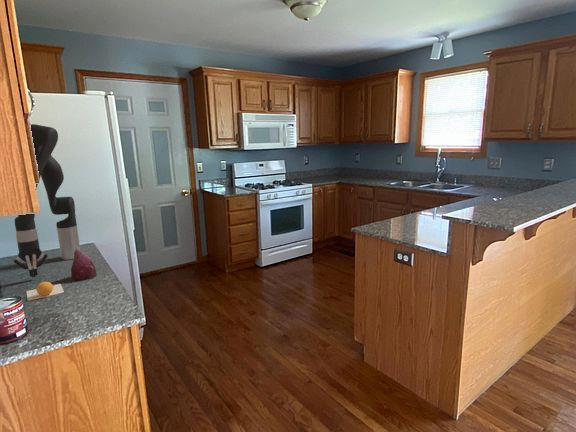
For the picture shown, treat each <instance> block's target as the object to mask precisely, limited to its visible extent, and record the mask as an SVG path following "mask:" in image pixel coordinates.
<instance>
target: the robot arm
mask: <svg viewBox="0 0 576 432" xmlns="http://www.w3.org/2000/svg"><path fill="white" fill-rule="evenodd" d="M30 125H31V131H32V137H33V143H34V148H35V155H36V160H37V164H38V171H39V180H40V179H41V181H42V183H43V186H44V189H45V191H46V196H47V201H48V204H49V208H50V212H51V213H52V214H53V215H55V216H59V215H61V216H62V215H67V217H65V218H64V219H61V220H58V221H57V222H56V225H55V226H56V231H57V237H58V244H59V251H60V252H59V253H60V258H61V260H65V261H67V260H74V252H75V250H76V248H77V249H79V250H80V251H81V245H80V237H79V232H78V225H77V216H76V206H75V205H76V204H75V200H74V198H73V197H72V196H56V195H57V192H58V191H59V189H60V187H61V185H62V184H63V182H64V180H65V177H64V172H63V169H62V165H61V164H60V163H59V162H58V161H57V160H56V159H55V157H53V155H52V153H53V151H54V150H55V148H56V146H57V143H58V141H59V133H58V131H57V130H56V129H55V128H54V127H51V126H45V125H41V124H36V123H35V124H33V123H31V124H30ZM38 185H39V183H38V184H36V189H37V188H38ZM35 214H36V213H35ZM35 214H26V215H18V214H17V216H16V217H15V218H14V228H15V235H16V236H15V237H16V241H17V243H16V244H17V248H18V255H17V257H15V258H13V260H12V262H13V263H14V264H16V265H17V266H18V267H20V268H22V269H23V270H28V274H29V276H30V277H32V278H34V277H37V276H38V268H39V267H41V266H42V265H43V264H44V262H45V261H46V260H47V258H48V256H49V255H48V254H47V253H44V252H42V250H41V247H40V242H39V236H38V235H39V234H38V231H37V229H36V223H35V217H36V215H35ZM39 258H40V260H39V261H38V259H39ZM21 260H22V261H23V262H24V263H23V262H22V261H21ZM37 261H38V263H37ZM31 262H32V264H31ZM25 263H26V264H27V265H26V264H25Z"/></svg>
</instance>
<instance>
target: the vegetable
mask: <svg viewBox="0 0 576 432" xmlns="http://www.w3.org/2000/svg"><path fill="white" fill-rule="evenodd" d="M70 274H71V280H73V281H80V282H81V281H87V280H91V279H93V278H95V277H97V270H96V267H95V264H94V262H93V260H92V258H91V257H90V256H89V255H88V254H86V253H84V252H83V251H82V250H81V249H80V250H79V249H77V248H76V250H75V252H74V259H73V262H72V264H71V268H70Z"/></svg>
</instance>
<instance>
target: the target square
mask: <svg viewBox="0 0 576 432" xmlns="http://www.w3.org/2000/svg"><path fill="white" fill-rule="evenodd" d="M52 285H53V284H52ZM36 289H37V288H36ZM36 289H31V290H30V289H29V290H26V298H27V302H29V301H34V300H38V299H42V298H46V297H51V296H56V295H60V294H63V293H65V291H64V289H63V286H62V284H61V283H58V284H54V285H53V291H52V292H51V293H50V294H49V295H46V296H42V295H39V294H38V293H37V290H36Z"/></svg>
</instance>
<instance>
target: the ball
mask: <svg viewBox="0 0 576 432" xmlns="http://www.w3.org/2000/svg"><path fill="white" fill-rule="evenodd" d="M36 290H37V293H38V294H39V295H42V296H46V295H49V294H50V293H51V292H52V291H53V284H52V283H51V282H50V281H41V283H39V284H38V285H37V286H36Z"/></svg>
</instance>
